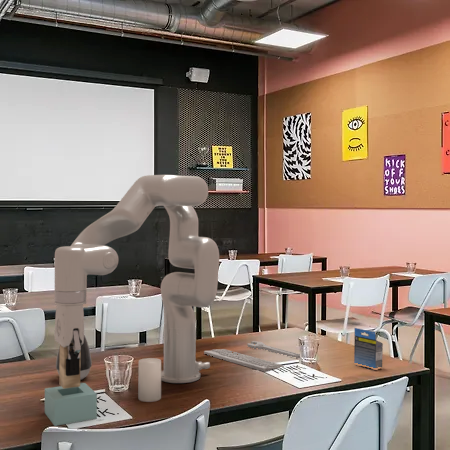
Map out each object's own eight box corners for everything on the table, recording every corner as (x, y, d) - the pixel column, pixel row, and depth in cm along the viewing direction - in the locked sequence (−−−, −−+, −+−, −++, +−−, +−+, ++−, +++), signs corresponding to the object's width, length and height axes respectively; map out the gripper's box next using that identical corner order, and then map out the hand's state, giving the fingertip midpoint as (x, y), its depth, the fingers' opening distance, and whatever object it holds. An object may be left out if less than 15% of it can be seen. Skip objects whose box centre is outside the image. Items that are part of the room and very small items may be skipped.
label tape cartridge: (383, 369, 184) (383, 330, 183) (375, 371, 181) (375, 332, 181) (361, 363, 191) (361, 326, 190) (353, 364, 188) (353, 327, 188)
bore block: (84, 406, 146) (84, 382, 146) (96, 418, 138) (96, 393, 138) (44, 412, 141) (44, 388, 141) (54, 426, 133) (54, 400, 133)
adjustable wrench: (303, 359, 197) (303, 354, 197) (289, 362, 193) (289, 357, 193) (256, 344, 217) (256, 340, 217) (243, 347, 213) (243, 342, 213)
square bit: (75, 382, 142) (76, 341, 142) (80, 386, 138) (80, 345, 138) (59, 384, 140) (59, 343, 140) (63, 388, 136) (63, 346, 136)
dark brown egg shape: (80, 371, 177) (80, 322, 177) (97, 379, 170) (98, 328, 169) (49, 378, 170) (49, 327, 170) (66, 386, 163) (66, 333, 162)
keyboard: (286, 368, 186) (286, 361, 186) (264, 374, 179) (264, 367, 179) (225, 351, 207) (225, 345, 207) (203, 356, 200) (203, 350, 200)
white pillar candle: (155, 393, 157) (155, 357, 157) (164, 399, 152) (164, 362, 152) (135, 396, 154) (135, 359, 154) (143, 403, 149) (143, 365, 149)
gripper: (46, 294, 144) (46, 366, 144) (63, 303, 130) (63, 383, 130) (76, 292, 148) (75, 362, 148) (96, 301, 133) (95, 379, 134)
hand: (69, 371), depth 139 cm, fingers closed on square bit, 4 cm apart
